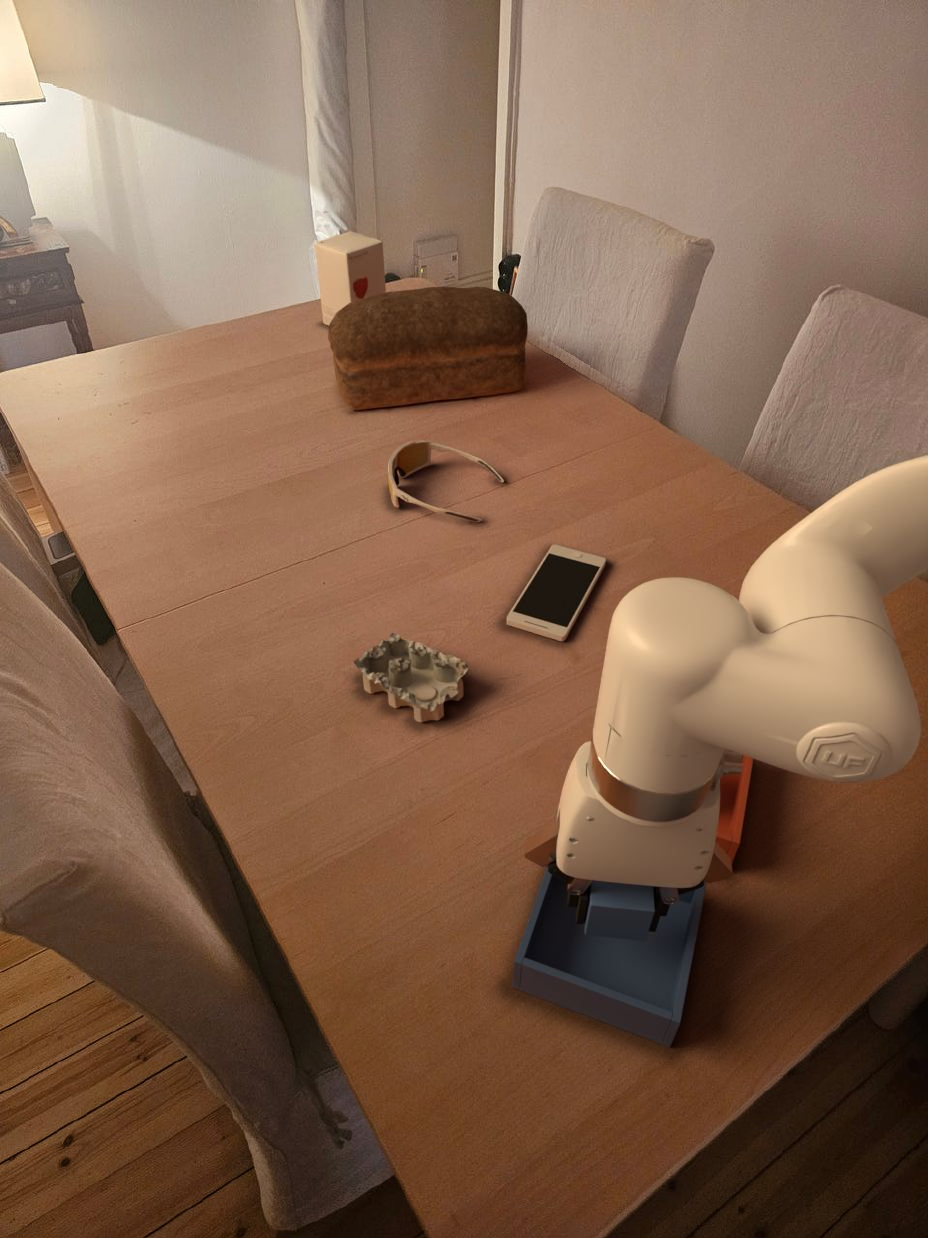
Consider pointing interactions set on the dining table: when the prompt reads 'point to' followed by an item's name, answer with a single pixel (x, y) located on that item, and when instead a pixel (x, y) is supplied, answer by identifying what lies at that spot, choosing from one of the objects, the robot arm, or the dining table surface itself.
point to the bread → (428, 346)
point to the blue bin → (609, 964)
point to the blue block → (620, 910)
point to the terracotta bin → (733, 808)
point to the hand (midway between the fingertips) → (614, 908)
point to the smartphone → (556, 592)
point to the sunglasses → (416, 458)
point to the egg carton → (413, 676)
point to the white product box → (348, 271)
